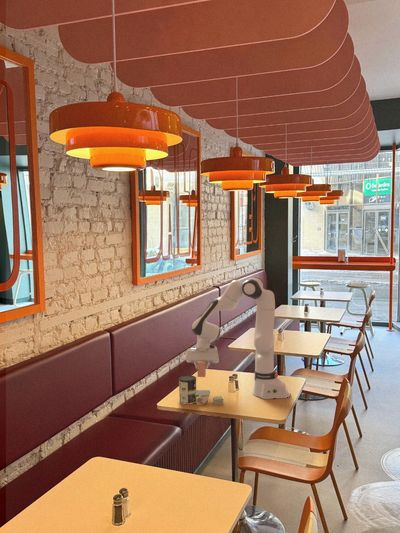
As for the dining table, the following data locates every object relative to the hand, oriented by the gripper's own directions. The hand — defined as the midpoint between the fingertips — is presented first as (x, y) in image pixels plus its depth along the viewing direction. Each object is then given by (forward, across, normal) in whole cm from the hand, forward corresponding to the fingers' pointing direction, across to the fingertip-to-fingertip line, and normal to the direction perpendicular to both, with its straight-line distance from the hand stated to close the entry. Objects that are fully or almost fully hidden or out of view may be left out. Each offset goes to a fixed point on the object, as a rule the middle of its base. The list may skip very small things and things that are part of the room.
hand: (201, 368), depth 300 cm
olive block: (+22, +11, +1) cm, 25 cm away
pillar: (+3, 0, +4) cm, 5 cm away
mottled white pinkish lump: (+22, +2, +1) cm, 23 cm away
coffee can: (+20, -7, +3) cm, 22 cm away
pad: (+11, 0, +12) cm, 16 cm away
